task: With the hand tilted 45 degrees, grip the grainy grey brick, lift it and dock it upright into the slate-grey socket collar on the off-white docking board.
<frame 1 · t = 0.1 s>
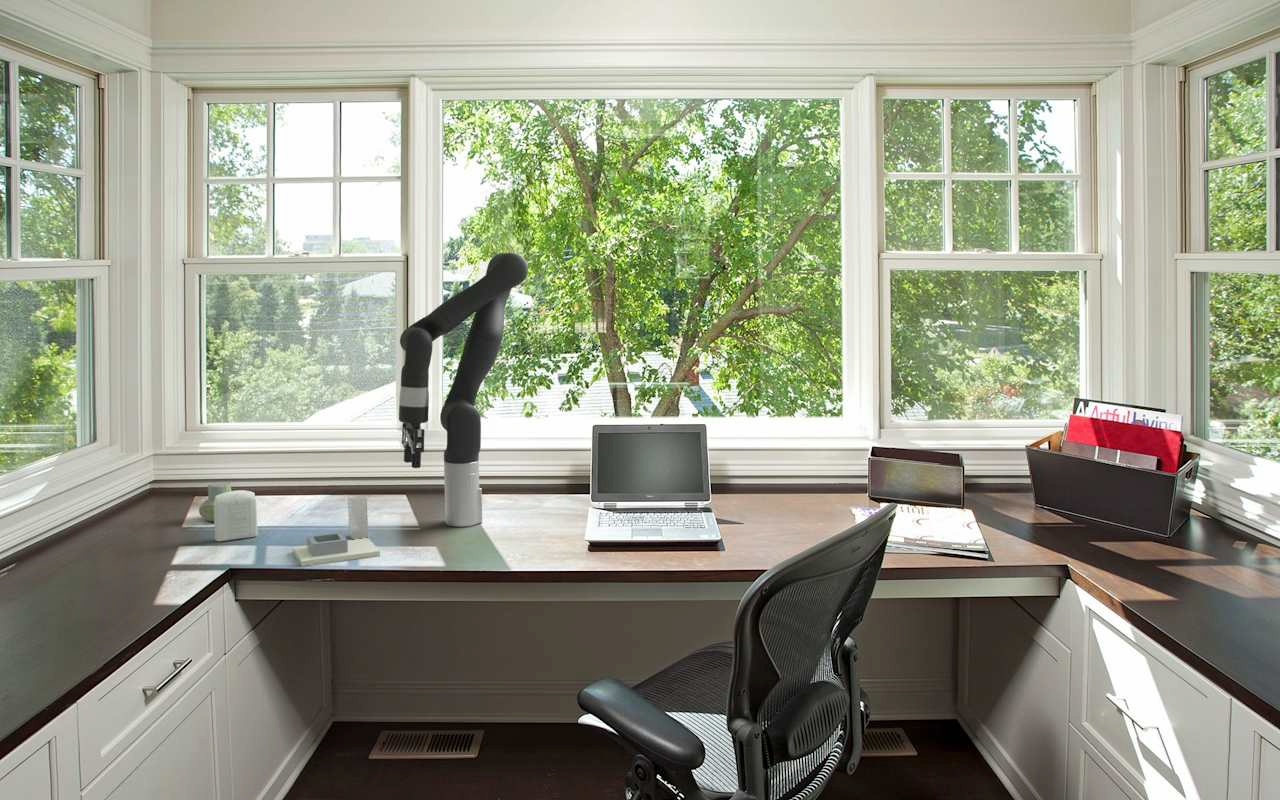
hand: (412, 464, 254), 17 cm above the table, tool pointing down, fingers open, 8 cm apart
grainy grey brick: (358, 536, 249), on the table
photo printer: (237, 538, 248), on the table
air freshener: (221, 520, 266), on the table
docking board: (336, 553, 234), on the table
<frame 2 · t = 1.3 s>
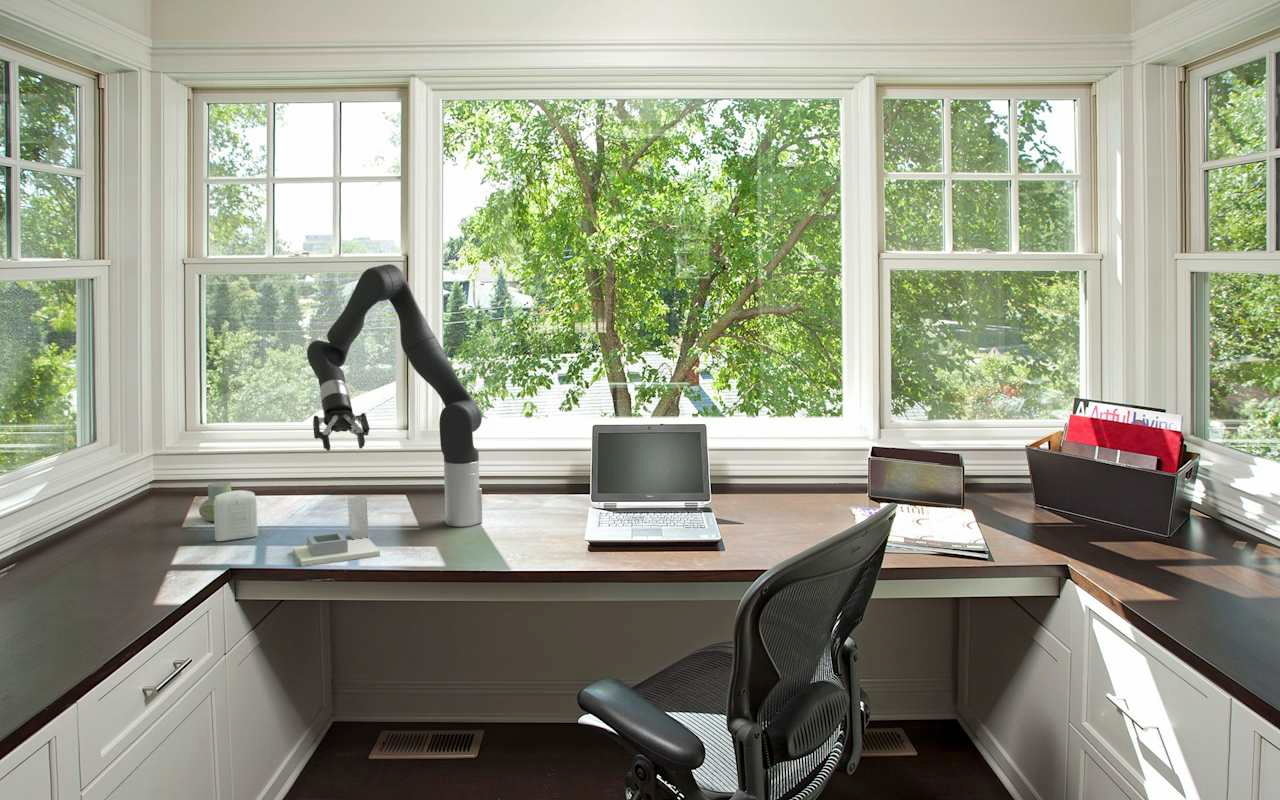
hand: (345, 448, 258), 21 cm above the table, tool tilted 45°, fingers open, 8 cm apart
nothing on the table moved.
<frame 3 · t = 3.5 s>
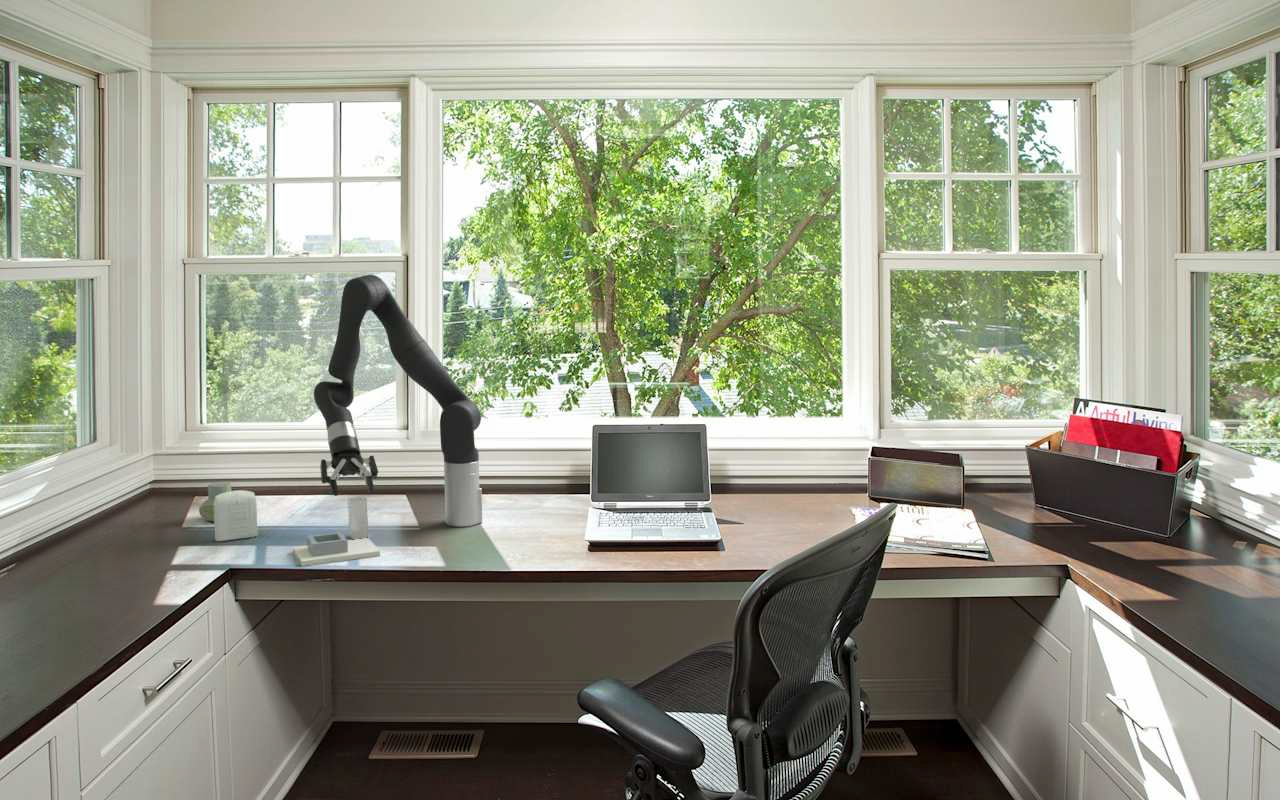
hand: (353, 492, 252), 11 cm above the table, tool tilted 45°, fingers open, 8 cm apart
nothing on the table moved.
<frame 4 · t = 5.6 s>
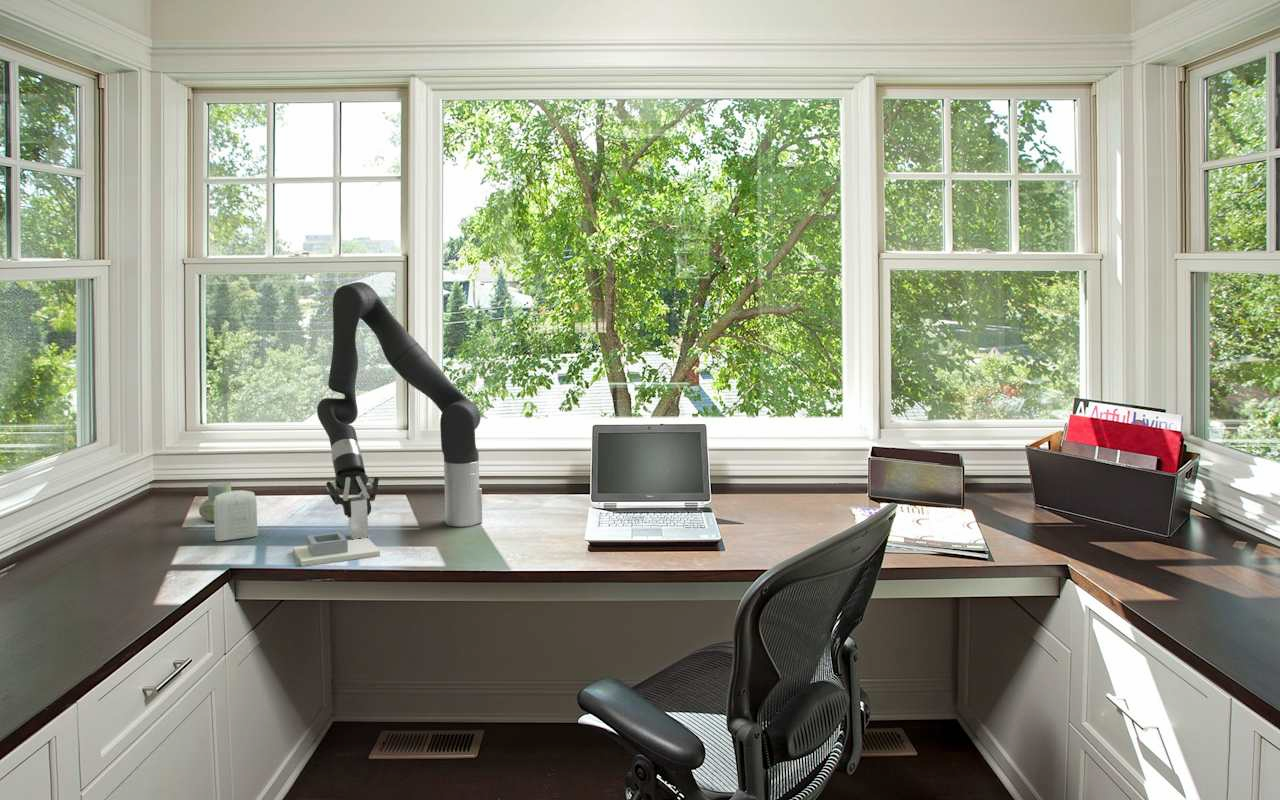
hand: (358, 514, 248), 6 cm above the table, tool tilted 45°, fingers closed on grainy grey brick, 4 cm apart
grainy grey brick: (358, 536, 249), on the table, touching gripper
everything else where it was.
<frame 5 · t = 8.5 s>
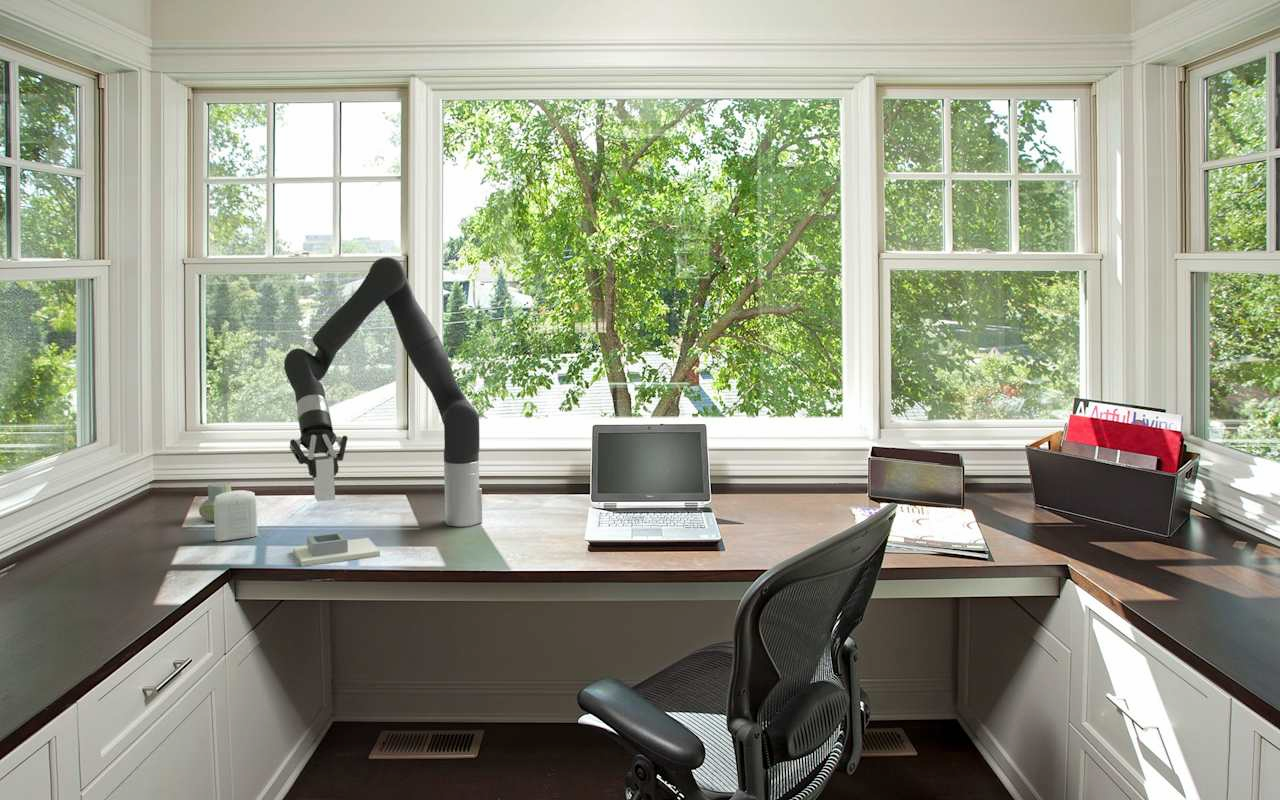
hand: (324, 474, 230), 20 cm above the table, tool tilted 45°, fingers closed on grainy grey brick, 4 cm apart
grainy grey brick: (324, 498, 232), point 14 cm above the table, touching gripper
everything else where it was.
when the fingers open (8 cm above the table, at t = 11.6 s): grainy grey brick stays where it is, resting on docking board.
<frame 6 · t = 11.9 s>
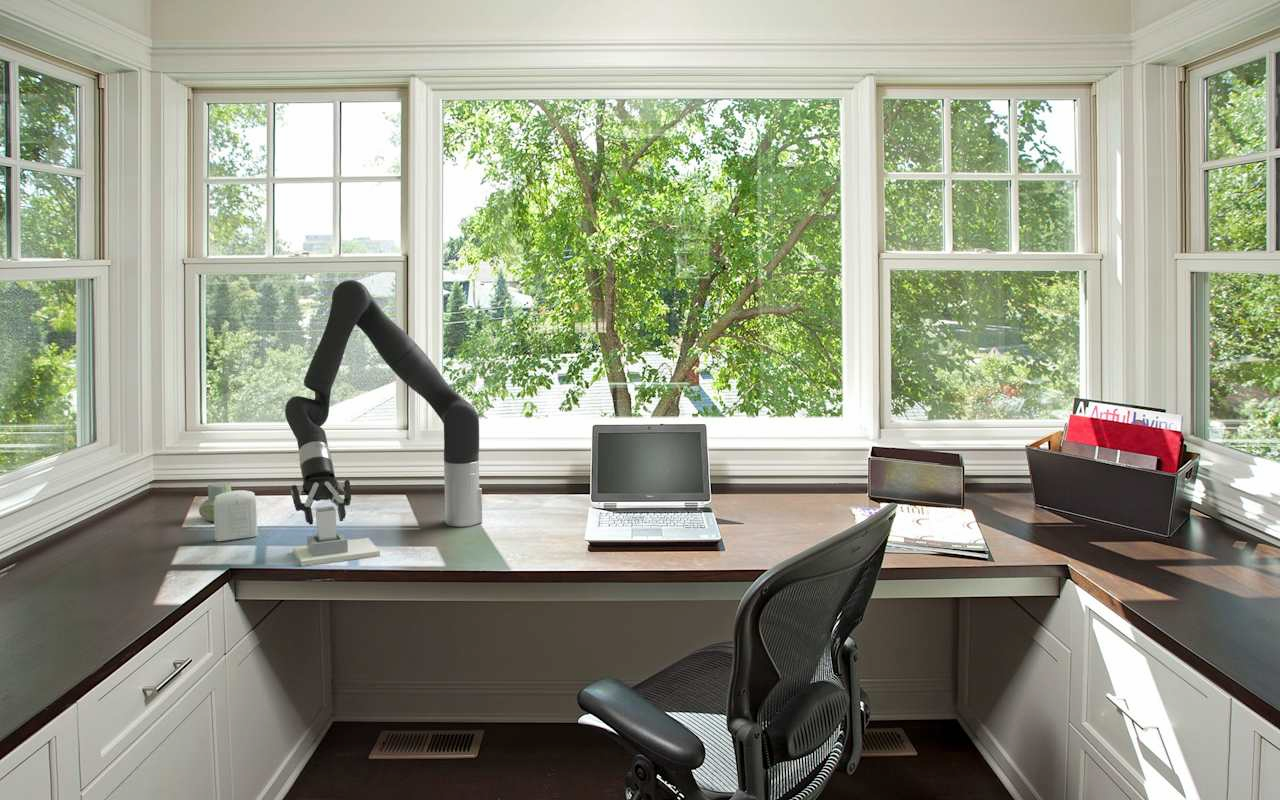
hand: (326, 521, 232), 9 cm above the table, tool tilted 45°, fingers open, 6 cm apart
grainy grey brick: (327, 549, 233), point 1 cm above the table, touching docking board
everything else where it was.
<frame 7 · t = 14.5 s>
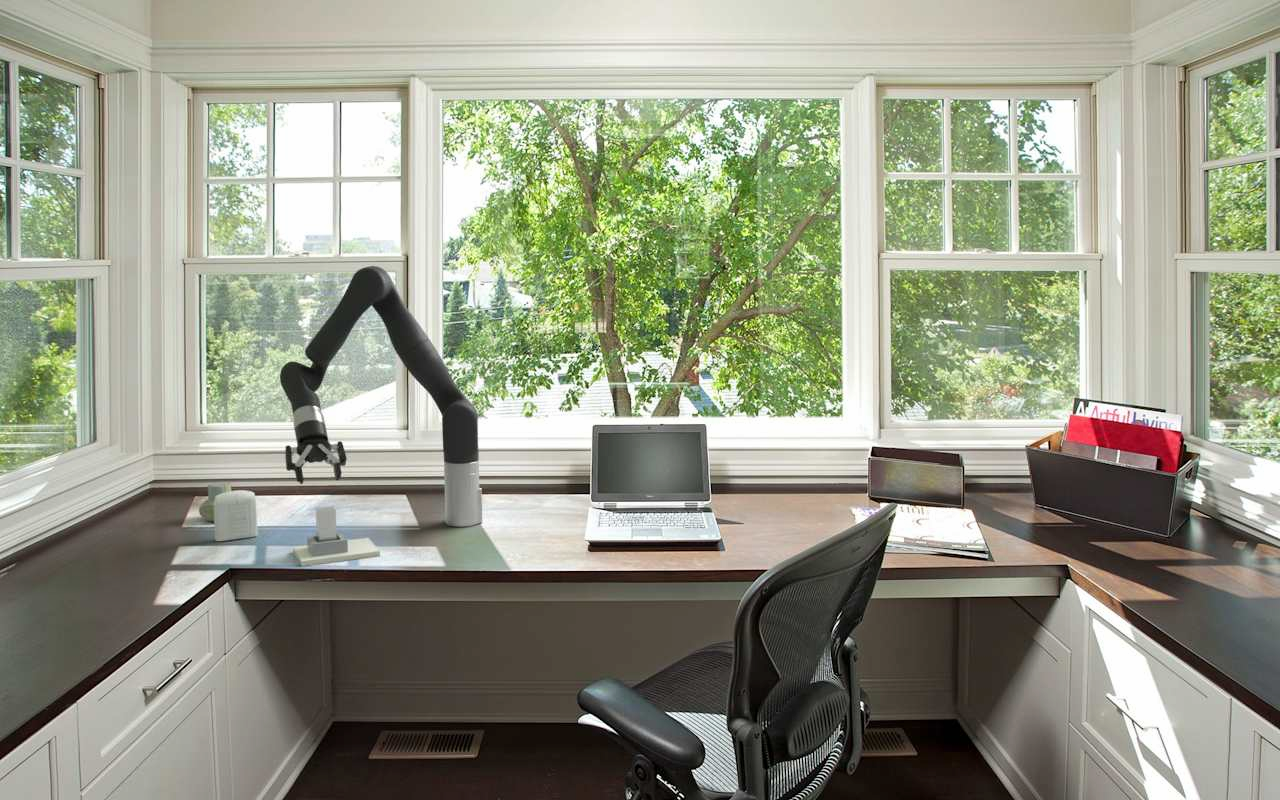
hand: (320, 480, 238), 17 cm above the table, tool tilted 45°, fingers open, 8 cm apart
nothing on the table moved.
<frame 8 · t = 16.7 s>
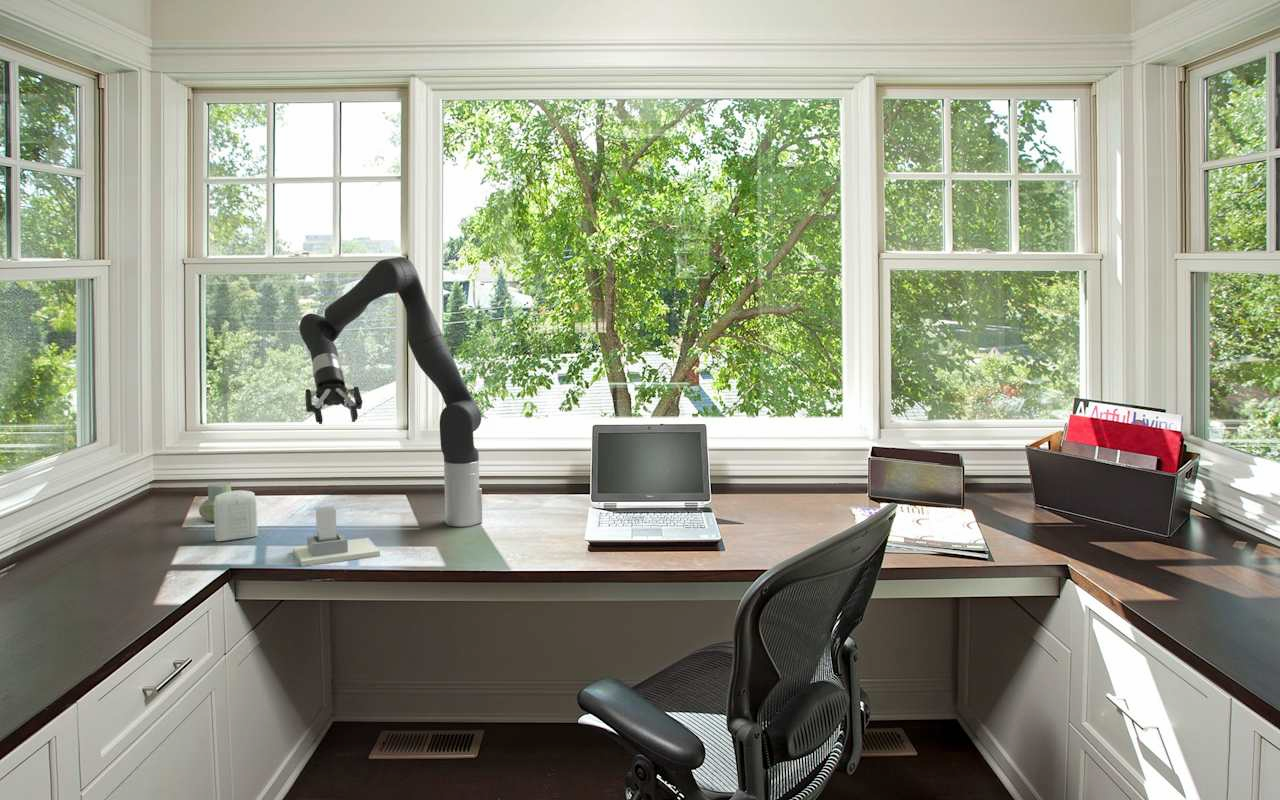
hand: (337, 421, 255), 29 cm above the table, tool tilted 45°, fingers open, 8 cm apart
nothing on the table moved.
at the end: grainy grey brick 0.2 cm from the target spot on the docking board, point 1.3 cm above the docking board's base; grainy grey brick tilted 0°; the gripper is holding nothing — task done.
